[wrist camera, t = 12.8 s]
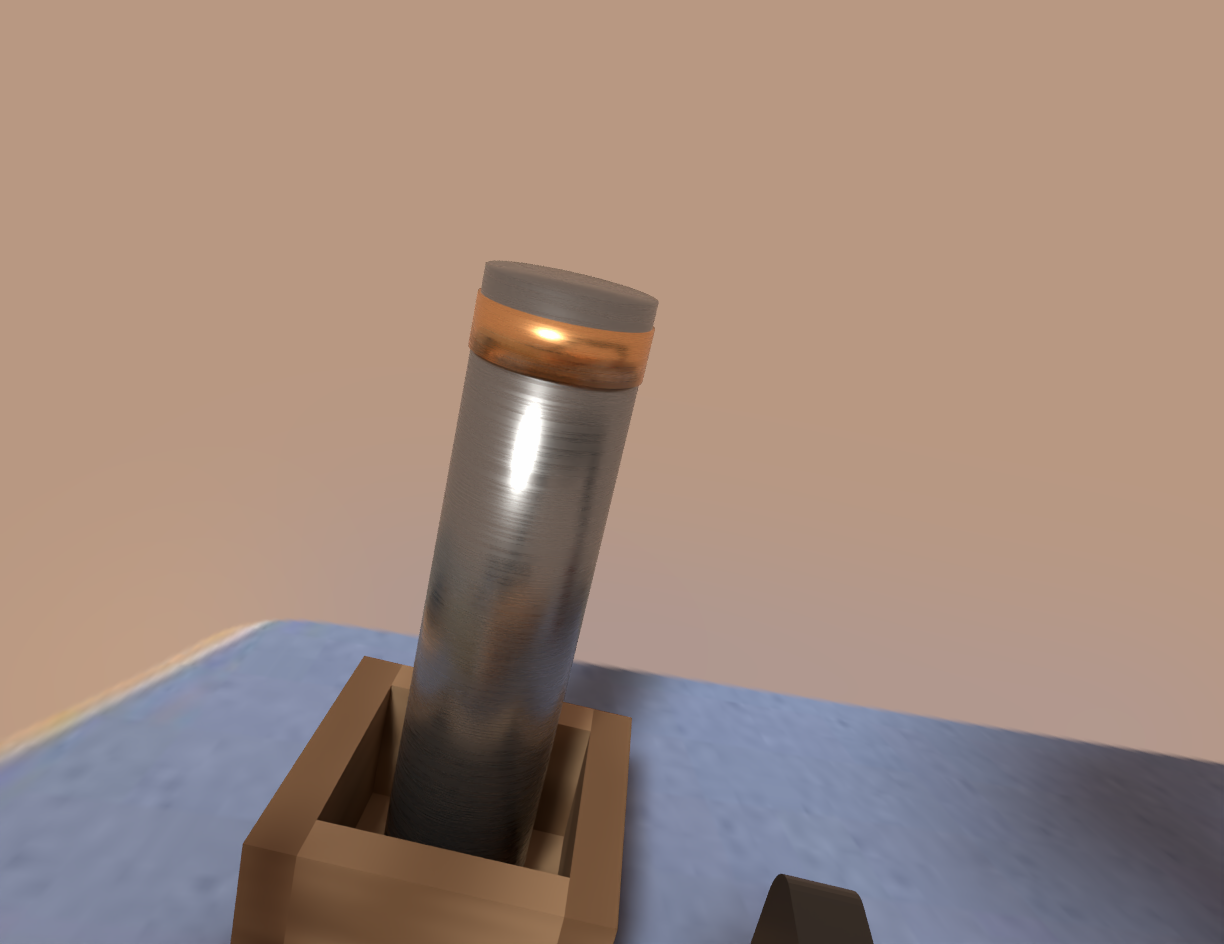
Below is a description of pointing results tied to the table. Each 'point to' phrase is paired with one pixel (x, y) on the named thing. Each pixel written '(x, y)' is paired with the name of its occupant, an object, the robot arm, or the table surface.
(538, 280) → the cylinder
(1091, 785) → the table surface
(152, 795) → the table surface
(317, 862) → the wooden masu cup
